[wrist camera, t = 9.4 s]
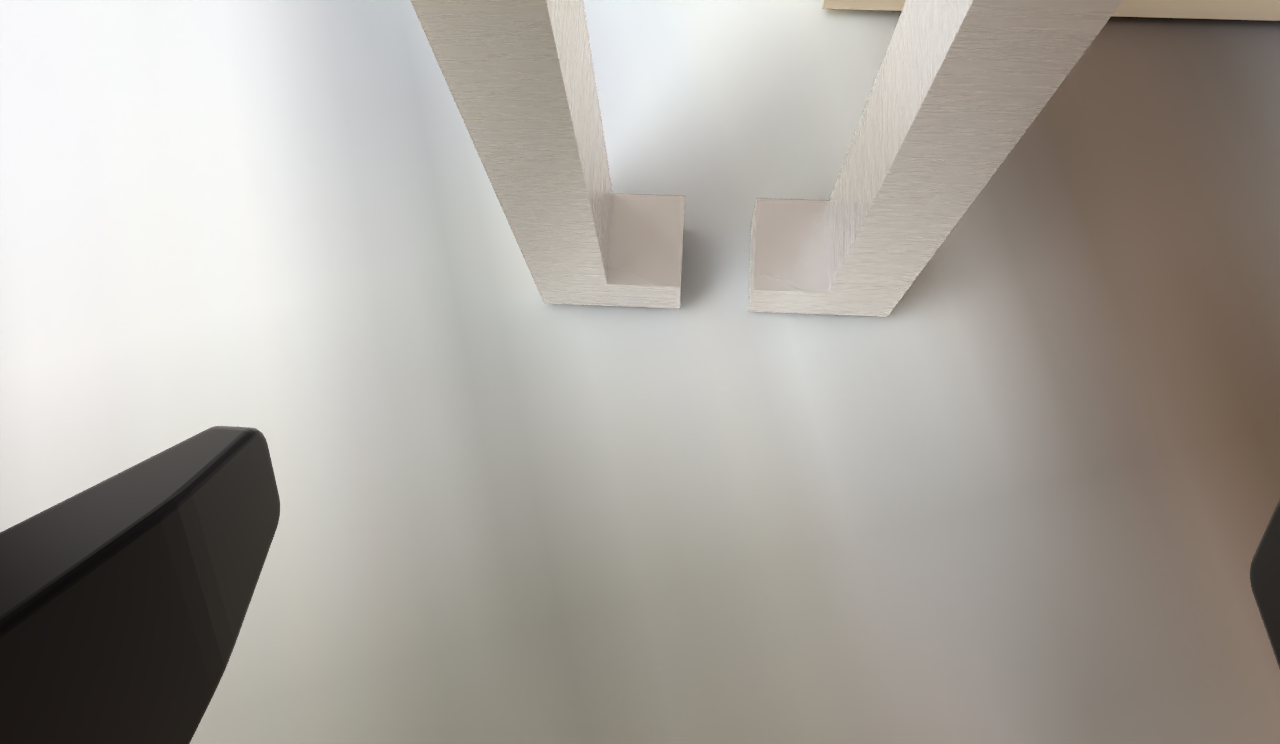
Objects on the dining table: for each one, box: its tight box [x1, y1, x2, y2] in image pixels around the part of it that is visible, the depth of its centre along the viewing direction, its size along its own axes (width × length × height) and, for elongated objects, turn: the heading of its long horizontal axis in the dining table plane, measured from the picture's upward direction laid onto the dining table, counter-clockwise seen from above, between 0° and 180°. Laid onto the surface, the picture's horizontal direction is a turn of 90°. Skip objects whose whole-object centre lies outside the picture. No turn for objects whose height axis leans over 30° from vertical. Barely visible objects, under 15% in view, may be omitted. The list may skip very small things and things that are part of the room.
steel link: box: [411, 0, 1123, 317], centre depth 11 cm, size 2×6×12 cm, turn 87°
